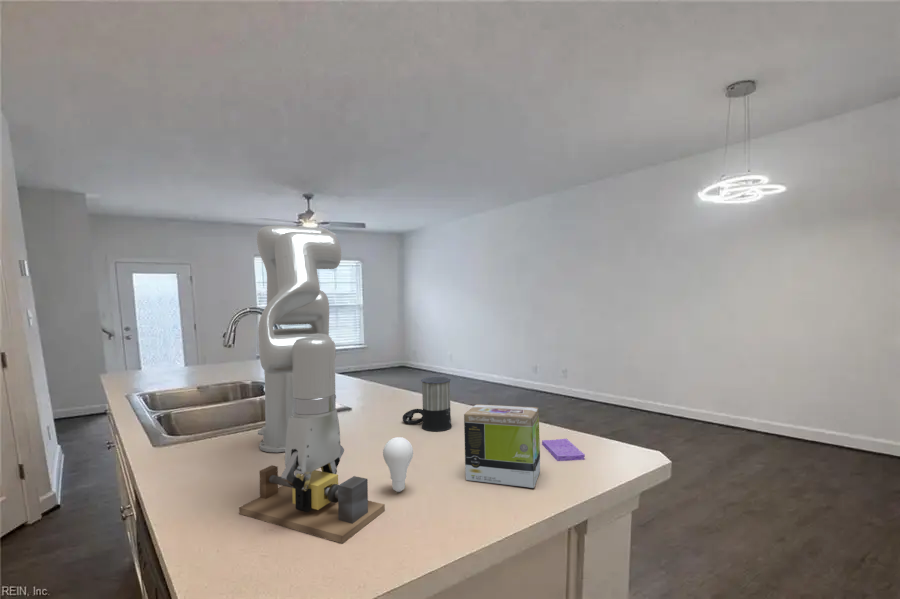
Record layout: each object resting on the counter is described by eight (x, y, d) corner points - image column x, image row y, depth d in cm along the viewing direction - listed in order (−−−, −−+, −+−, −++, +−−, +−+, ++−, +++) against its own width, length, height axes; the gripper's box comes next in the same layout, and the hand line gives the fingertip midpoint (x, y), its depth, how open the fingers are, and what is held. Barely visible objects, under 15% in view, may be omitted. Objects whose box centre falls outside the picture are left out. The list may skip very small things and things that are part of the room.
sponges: (557, 463, 105) (557, 455, 105) (541, 446, 118) (541, 439, 118) (585, 462, 106) (585, 454, 106) (566, 444, 118) (566, 437, 118)
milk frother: (451, 432, 130) (450, 381, 130) (398, 432, 130) (397, 382, 130) (452, 418, 144) (451, 373, 144) (404, 419, 144) (403, 374, 144)
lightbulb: (389, 500, 86) (388, 444, 86) (379, 489, 91) (378, 436, 91) (418, 494, 88) (417, 439, 88) (407, 483, 94) (406, 431, 94)
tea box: (540, 471, 99) (540, 406, 99) (534, 490, 90) (533, 417, 90) (476, 464, 104) (475, 402, 104) (463, 481, 95) (463, 412, 95)
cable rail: (239, 513, 81) (238, 474, 81) (288, 488, 92) (288, 453, 92) (342, 543, 71) (342, 498, 71) (384, 510, 82) (384, 471, 82)
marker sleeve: (292, 503, 80) (292, 480, 80) (313, 491, 85) (313, 469, 85) (318, 509, 77) (317, 485, 77) (338, 497, 82) (338, 474, 82)
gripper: (330, 393, 90) (331, 481, 90) (261, 414, 75) (263, 520, 75) (359, 396, 87) (361, 488, 87) (294, 418, 72) (296, 529, 72)
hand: (315, 501), depth 81 cm, fingers closed on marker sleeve, 5 cm apart
